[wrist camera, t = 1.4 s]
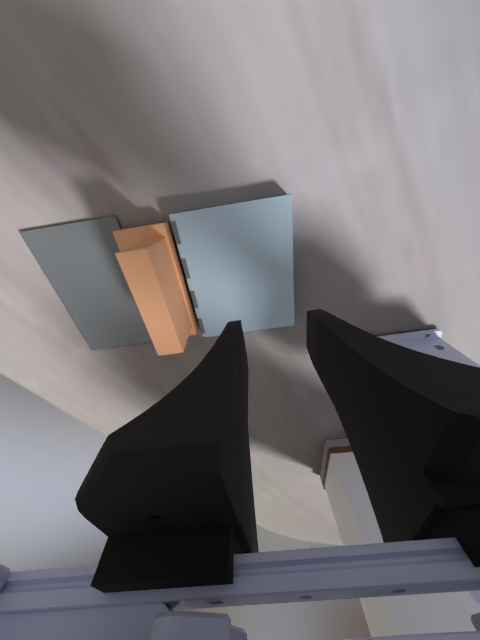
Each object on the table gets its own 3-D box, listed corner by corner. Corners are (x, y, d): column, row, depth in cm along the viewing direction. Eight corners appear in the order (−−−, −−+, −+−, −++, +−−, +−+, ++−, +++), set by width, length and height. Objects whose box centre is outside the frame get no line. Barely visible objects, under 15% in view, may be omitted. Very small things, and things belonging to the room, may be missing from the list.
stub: (168, 221, 17) (143, 230, 12) (198, 328, 22) (189, 362, 17) (119, 229, 17) (78, 241, 13) (160, 333, 22) (141, 368, 18)
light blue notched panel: (287, 194, 16) (292, 194, 15) (291, 318, 22) (294, 325, 21) (173, 213, 17) (168, 214, 16) (204, 330, 22) (202, 338, 21)
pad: (116, 215, 17) (114, 216, 17) (164, 339, 23) (163, 340, 23) (21, 231, 17) (19, 232, 17) (92, 349, 23) (91, 350, 23)
